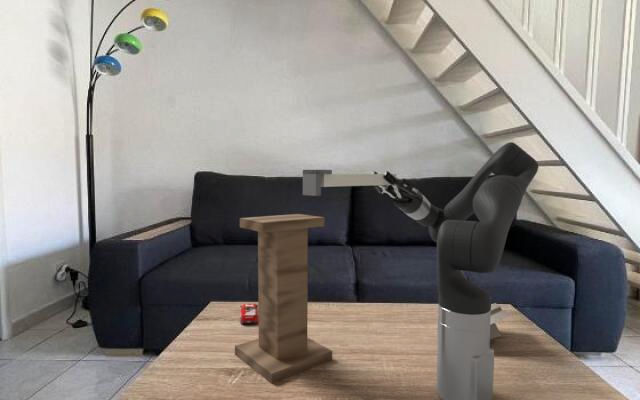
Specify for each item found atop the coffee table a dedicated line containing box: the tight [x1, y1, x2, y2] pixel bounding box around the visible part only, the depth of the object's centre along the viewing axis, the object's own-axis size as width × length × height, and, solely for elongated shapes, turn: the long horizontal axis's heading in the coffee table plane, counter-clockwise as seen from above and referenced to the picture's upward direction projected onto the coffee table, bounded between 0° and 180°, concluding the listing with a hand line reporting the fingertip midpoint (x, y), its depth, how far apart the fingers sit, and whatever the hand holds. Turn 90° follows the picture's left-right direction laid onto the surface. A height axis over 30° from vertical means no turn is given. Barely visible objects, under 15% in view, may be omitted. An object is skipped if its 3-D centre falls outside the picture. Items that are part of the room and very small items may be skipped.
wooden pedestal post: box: [234, 213, 333, 384], centre depth 88 cm, size 16×16×32 cm
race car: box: [239, 302, 259, 325], centre depth 113 cm, size 13×5×4 cm, turn 8°
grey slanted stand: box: [490, 302, 513, 341], centre depth 98 cm, size 16×9×15 cm
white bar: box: [302, 169, 397, 197], centre depth 100 cm, size 5×29×6 cm, turn 129°
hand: (379, 174), depth 106 cm, fingers closed on white bar, 4 cm apart
